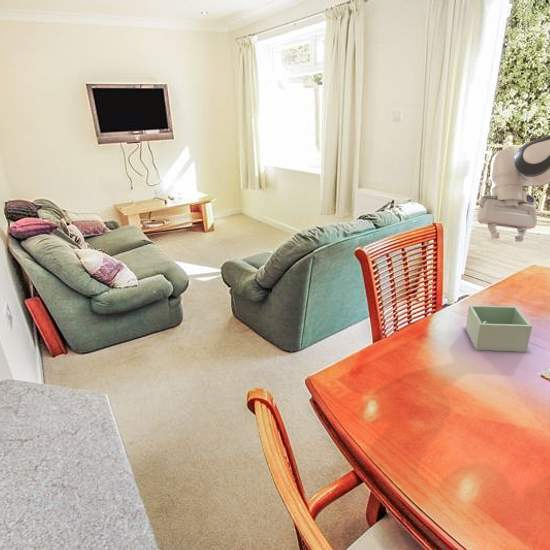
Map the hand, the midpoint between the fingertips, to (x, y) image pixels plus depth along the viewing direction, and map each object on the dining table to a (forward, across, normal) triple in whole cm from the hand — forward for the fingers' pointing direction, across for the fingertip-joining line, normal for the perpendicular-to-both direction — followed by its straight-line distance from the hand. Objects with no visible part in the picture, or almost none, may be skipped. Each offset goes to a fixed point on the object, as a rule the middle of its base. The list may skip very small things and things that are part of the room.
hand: (507, 239), depth 120 cm
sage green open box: (+32, -5, +1) cm, 32 cm away
